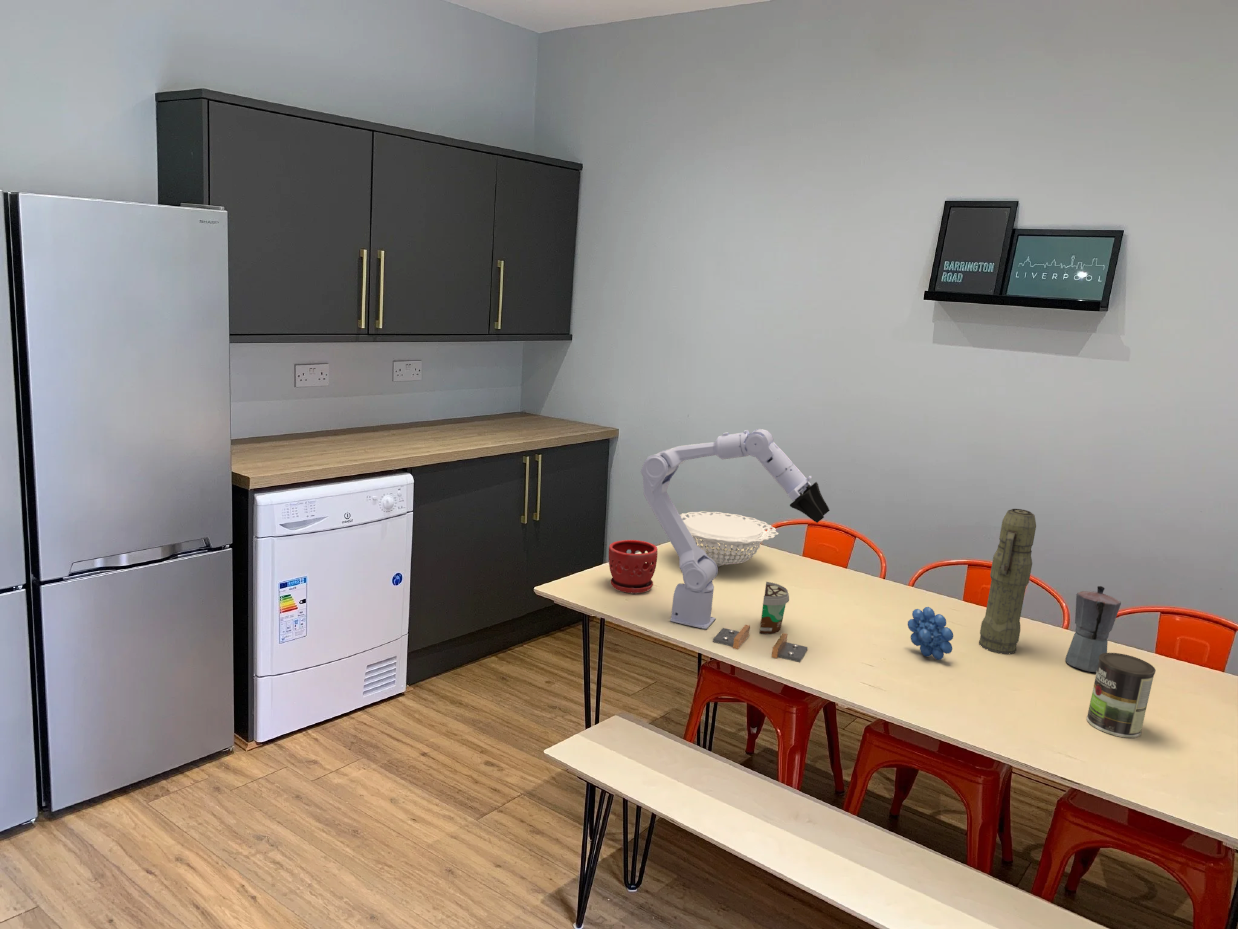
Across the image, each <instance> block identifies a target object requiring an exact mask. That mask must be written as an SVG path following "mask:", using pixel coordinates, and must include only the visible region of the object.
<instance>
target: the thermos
mask: <svg viewBox="0 0 1238 929" xmlns="http://www.w3.org/2000/svg"><path fill="white" fill-rule="evenodd" d="M1035 516H1036V515H1035V514H1034V513H1033V512H1031V511H1029V510H1026V509H1021V508H1011V509H1009V510H1007V511H1006V512H1005V515H1004V517H1003V518H1002V520H1001V527H1000V533H999V537H998V538H999V543H998V544H997V549H996V551H995V553H994V554H993V556H992V557H993V558H992V564H991V569H990V576H989V577H990V580H991V581H990V587H989V593H988V598H987V602H986V603H987V604H986V610H985V615H984V618H983V619H982V621H981V625H980V630H979V634H980V637H979V641H978V645H979V646H980V645H981V646H982V649H984V648H985V649H984V650H986V649H988V650H987V651H989V652H992V651H993V652H992V653H995V652H997V653H996V654H1000V653H1002V654H1001V655H1012V653H1013V652H1015V651H1016V652H1017V646H1018V642H1019V640H1020V634H1021V616H1022V609H1023V605H1024V599H1025V594H1026V588H1027V586H1028V585H1029V583H1030V577H1031V573H1032V568H1033V558H1032V551H1033V550H1032V546H1033V545H1034V539H1035V534H1036V529H1037V522H1036V517H1035ZM981 646H980V647H981ZM1016 652H1015V653H1016ZM1009 653H1010V654H1009ZM1013 654H1014V653H1013Z"/></svg>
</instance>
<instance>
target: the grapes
mask: <svg viewBox="0 0 1238 929" xmlns="http://www.w3.org/2000/svg"><path fill="white" fill-rule="evenodd" d="M911 613H912V614H911V616H912V618H910V619H909V620H908V621H907V628H908V629H909V631H910V632H912V633H911V634H910V641H911V643H912V644H913V645H914V646H916V647H919V651H920V653H921V654H922V655H923V657H926V658H927V657H928V658H930V656H932V657H933V658H934V659H935V660H938V661H940V660H942V659H943V658H944V657H945V655H947V654H948V655H949V654H951V653H952V652H953V646H952V643H951V642H950V641H952V640H953V639H954V634H953V633H954V632H953V631H952V629H951V628H949V627H948V626H947V619H946V617H945V616H944V615H943V614H941V613H935V611H934V609H933V608H932V607H929V606H925V607H924V608H923V609H922V610H921V609H919V608H915V609H914V610H913V611H912V612H911Z"/></svg>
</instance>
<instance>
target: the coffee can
mask: <svg viewBox="0 0 1238 929" xmlns="http://www.w3.org/2000/svg"><path fill="white" fill-rule="evenodd" d="M1155 674H1156V667H1155V666H1153V665H1152V664H1151V663H1149V662H1147V661H1146V660H1143V659H1141V658H1138V657H1135V656H1133V655H1129V654H1125V653H1117V652H1107V653H1103V654H1101V655H1099V663H1098V668H1097V672H1095V677H1094V682H1093V688H1092V692H1091V697H1090V702H1089V706H1088V710H1087V716H1086V722H1087V723H1088V724H1089V725H1090V726H1092V727H1093V728H1094V729H1096V730H1098V731H1100V732H1103V733H1104V734H1108V735H1110V736H1114V737H1119V738H1123V739H1124V738H1125V739H1134V738H1138V737H1140V736H1141V735H1142V728H1143V724H1144V719H1145V717H1146V712H1147V707H1148V703H1149V697H1150V694H1151V689H1152V685H1153V680H1154V676H1155Z"/></svg>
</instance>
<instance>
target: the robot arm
mask: <svg viewBox="0 0 1238 929" xmlns="http://www.w3.org/2000/svg"><path fill="white" fill-rule="evenodd" d="M712 456H717V457H718V458H719V459H721V460H730V459H737V458H744V457H749V456H751V457H754V458H756V459H757V460H758V461H759V463H760V464H761V465H762V466H763V468H764V469H765V470H766V471H767V472H768V474H770V476H771V477H772V478H773V479H774V480H775V482H776V483H777V484H778V485H779V486H780V487H781V489H783V491H784V492H785V493H786V496H787V497H788V498H790V500H792V502H791V503H790V504H789V507H790V508H792V509H795V510H797V511H799V512H800V513H802V514H804V515H805V516H806V517H808V518H809V519H810V520H812V521H813V522H815V523H816V524H818V523H819V522H821V521H822V520H823V519H824V518H825V515H826V514H827V513H829V511H830V508H829V506H828V504H827V503H826V501H825V499H824V497H823V495H822V493H821V490H820V486H819V483H818V482H817V481H815V482H814V483H813V484H812V483H811V482H810V481H811V479H813V476H812V475H809V476H808V477H806V476H805V475H804V473H803V472H802V471H801V470H799V468H798V467H797V466H796V465H795V464H794V462H793V461H792V460H791V459H790V458H789V456H788V455H787V454H786V453H785V452H784V451H783V449H782V448H780V447H779V445H777V444H776V442H774V438H773V434H772V433H771V432H770V431H769V430H767V429H762V428H756V429H754V430H753V431H752V432H750V431H749V429H745V430H743V432H737V433H731V434H730V432H729V431H727V432H723V433H722V435H718V436H717V438H716V439H715V441H714V442H713V441H711V442H701V443H694V444H685V445H677V446H674V447H672V448H671V447H670V448H668V449H663V450H660V451H659V452H658V453H655V454H651V455H648V456H647V458H646V459H644V462H643V464H642V467H641V469H640V474H641V475H642V486H643V487H642V488H643V489H642V490H643V495H644V498H645V500H646V501H647V503H648V505H649V507H650V509H651V510H652V512H653V513H654V515H655V517H656V519H657V521H658V523H659V524H660V526H661V527H662V530H663V531H664V533H665V534H666V537H667V539H668V540H669V542H670V544H671V545H672V547H673V548H674V551H675V553H676V555H677V556H678V558H679V559H678V560H679V562H678V563H679V569H680V571H681V573H682V580H683V583H677V584H676V586H675V588H674V592H673V596H672V605H671V606H672V607H671V616H670V618H669V621H670V622H672V623H676V624H681V625H686V626H690V627H695V628H699V629H703V630H707V629H708V628H709V627H710V626H711V625H712V624H713V623H714V622H715V621H716V617H713V616H712V608H713V607H712V606H713V599H714V591H715V586H714V584H713V580H715V579H716V577H717V576H718V573H719V571H718V570H719V569H718V568H719V566H718V565H717V564H716V563H715V562H714V561H713V560H712V559H711V558H709V556H707V554H706V553H707V552H706V553H705V551H704V550H703V549H702V548H699V547H698V543H697V544H696V542H695V541H694V539H693V536H691V534H690V532H689V530H688V529H687V527H686V525H685V523H684V522H683V520H684V519H682V518H681V516H680V515H681V514H680V513H679V511H678V509H677V507H676V505H675V504H674V503H673V501H672V499H671V497H670V495H669V494H668V492H667V491H668V487H669V484H670V482H671V479H672V477H673V476H674V475H675V473H677V471H678V469H679V466H681V465H682V464H684V463H685V461H689V460H694V459H699V458H701V459H702V458H707V457H712Z"/></svg>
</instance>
